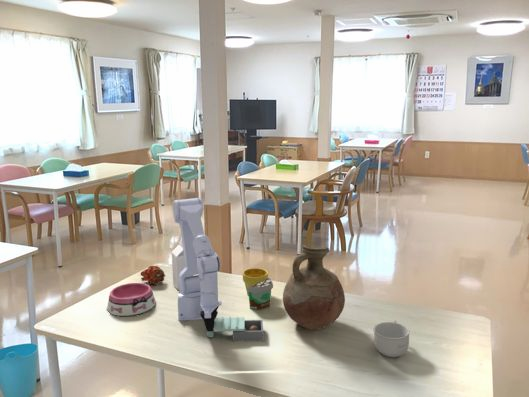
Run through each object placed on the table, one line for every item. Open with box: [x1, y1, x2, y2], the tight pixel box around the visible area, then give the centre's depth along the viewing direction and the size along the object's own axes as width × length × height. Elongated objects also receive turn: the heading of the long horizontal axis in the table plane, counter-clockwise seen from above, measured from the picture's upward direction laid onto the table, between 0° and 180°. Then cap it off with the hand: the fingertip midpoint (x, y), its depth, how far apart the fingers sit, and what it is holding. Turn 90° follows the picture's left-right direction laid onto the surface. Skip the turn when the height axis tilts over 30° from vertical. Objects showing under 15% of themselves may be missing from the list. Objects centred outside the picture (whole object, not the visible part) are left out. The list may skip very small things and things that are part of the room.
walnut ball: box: [250, 326, 258, 331], centre depth 153 cm, size 3×3×3 cm
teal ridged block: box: [206, 316, 246, 338], centre depth 152 cm, size 12×8×6 cm, turn 92°
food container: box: [246, 276, 274, 310], centre depth 173 cm, size 12×6×10 cm, turn 143°
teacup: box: [373, 319, 411, 358], centre depth 144 cm, size 14×11×8 cm
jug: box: [282, 244, 346, 331], centre depth 157 cm, size 22×22×30 cm
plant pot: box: [242, 267, 269, 297], centre depth 185 cm, size 10×10×10 cm
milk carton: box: [171, 241, 194, 291], centre depth 193 cm, size 7×7×19 cm
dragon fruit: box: [140, 265, 166, 286], centre depth 198 cm, size 8×8×12 cm
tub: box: [232, 319, 264, 343], centre depth 152 cm, size 10×8×4 cm
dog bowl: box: [106, 282, 157, 318], centre depth 175 cm, size 18×19×7 cm
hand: (210, 328), depth 152 cm, fingers closed on teal ridged block, 3 cm apart
